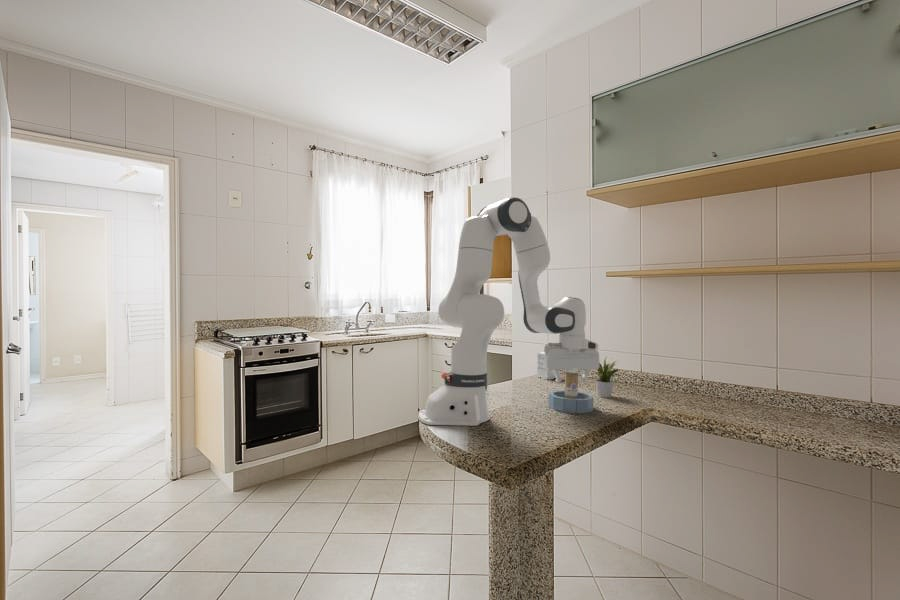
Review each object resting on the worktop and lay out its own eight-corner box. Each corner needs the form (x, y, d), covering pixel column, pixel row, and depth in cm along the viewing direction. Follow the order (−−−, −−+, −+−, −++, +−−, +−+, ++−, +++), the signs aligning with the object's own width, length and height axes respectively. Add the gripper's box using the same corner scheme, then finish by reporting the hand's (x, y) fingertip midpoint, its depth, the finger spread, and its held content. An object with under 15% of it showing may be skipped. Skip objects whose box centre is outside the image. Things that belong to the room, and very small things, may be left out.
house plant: (583, 398, 164) (584, 356, 165) (581, 391, 178) (582, 352, 178) (622, 401, 161) (623, 358, 161) (617, 394, 174) (618, 354, 174)
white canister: (547, 376, 213) (548, 351, 214) (558, 378, 207) (558, 353, 207) (536, 377, 210) (537, 352, 210) (546, 379, 203) (547, 353, 203)
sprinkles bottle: (569, 406, 146) (570, 368, 146) (561, 403, 150) (562, 366, 151) (580, 405, 148) (581, 367, 148) (572, 402, 152) (573, 365, 152)
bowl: (561, 413, 140) (561, 400, 140) (542, 403, 155) (542, 390, 155) (601, 412, 143) (601, 399, 143) (579, 402, 158) (579, 390, 158)
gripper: (548, 343, 144) (547, 384, 144) (602, 344, 148) (601, 383, 148) (540, 341, 150) (539, 380, 150) (592, 342, 154) (591, 380, 154)
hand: (570, 382), depth 149 cm, fingers open, 8 cm apart
